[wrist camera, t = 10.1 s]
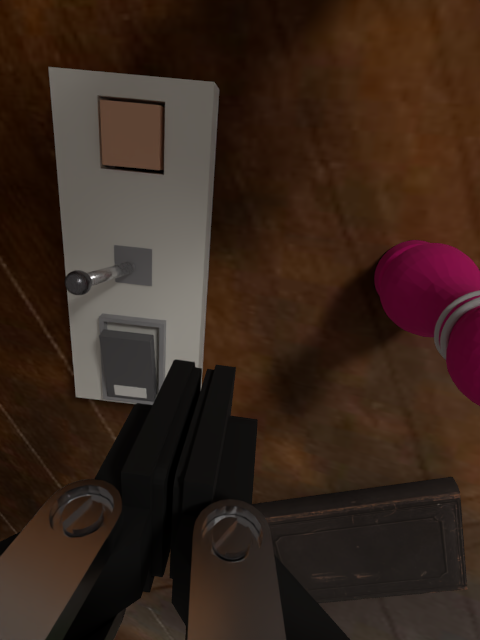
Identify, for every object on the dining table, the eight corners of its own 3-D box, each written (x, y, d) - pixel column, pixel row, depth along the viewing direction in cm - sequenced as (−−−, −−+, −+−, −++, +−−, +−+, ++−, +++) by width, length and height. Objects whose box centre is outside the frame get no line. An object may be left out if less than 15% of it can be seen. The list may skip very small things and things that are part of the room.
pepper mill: (356, 301, 36) (447, 449, 17) (386, 224, 33) (531, 302, 15) (431, 321, 36) (599, 487, 18) (467, 246, 33) (711, 349, 15)
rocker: (103, 329, 34) (98, 336, 33) (153, 334, 34) (150, 342, 33) (112, 388, 38) (108, 396, 37) (157, 393, 37) (154, 401, 37)
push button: (114, 104, 31) (99, 99, 28) (169, 110, 31) (159, 105, 28) (115, 164, 32) (102, 164, 30) (168, 169, 32) (159, 170, 30)
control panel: (68, 75, 31) (42, 64, 27) (219, 89, 30) (212, 79, 27) (88, 381, 41) (72, 401, 38) (200, 394, 41) (194, 416, 37)
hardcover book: (458, 571, 49) (467, 589, 47) (278, 589, 52) (278, 607, 50) (450, 472, 43) (459, 488, 41) (249, 500, 47) (248, 516, 45)
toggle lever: (123, 253, 33) (57, 270, 27) (141, 257, 32) (77, 275, 26) (124, 274, 34) (59, 295, 28) (141, 278, 33) (79, 300, 27)
